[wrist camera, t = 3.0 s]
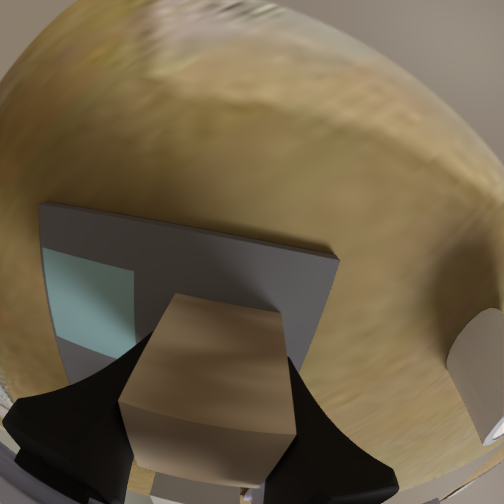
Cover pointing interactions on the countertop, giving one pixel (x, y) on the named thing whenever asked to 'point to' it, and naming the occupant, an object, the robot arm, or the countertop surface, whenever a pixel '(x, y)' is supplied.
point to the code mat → (164, 281)
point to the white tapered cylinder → (481, 372)
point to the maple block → (211, 394)
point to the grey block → (191, 491)
